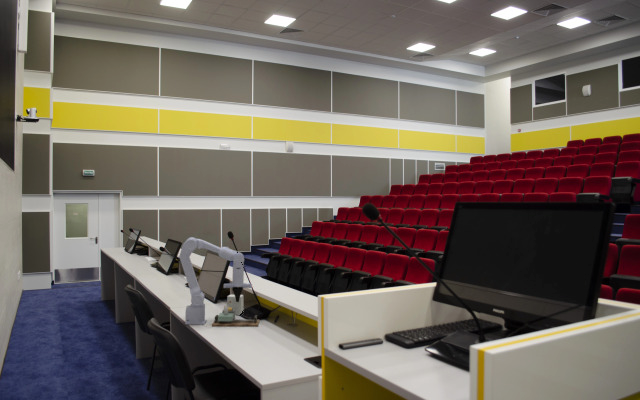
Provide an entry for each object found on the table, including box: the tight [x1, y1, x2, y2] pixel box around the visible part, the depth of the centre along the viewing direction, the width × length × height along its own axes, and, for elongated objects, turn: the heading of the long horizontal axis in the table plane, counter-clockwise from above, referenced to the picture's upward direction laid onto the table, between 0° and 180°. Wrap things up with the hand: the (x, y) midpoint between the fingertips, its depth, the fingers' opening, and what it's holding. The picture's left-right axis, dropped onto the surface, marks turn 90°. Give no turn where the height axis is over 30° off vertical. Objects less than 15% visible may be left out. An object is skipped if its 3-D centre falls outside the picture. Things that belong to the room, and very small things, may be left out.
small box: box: [226, 294, 245, 317], centre depth 254 cm, size 8×6×10 cm
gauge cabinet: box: [221, 309, 236, 319], centre depth 243 cm, size 6×6×5 cm
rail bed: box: [211, 314, 260, 328], centre depth 234 cm, size 23×10×4 cm, turn 93°
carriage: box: [218, 304, 234, 321], centre depth 234 cm, size 7×7×7 cm
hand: (237, 301), depth 239 cm, fingers closed
